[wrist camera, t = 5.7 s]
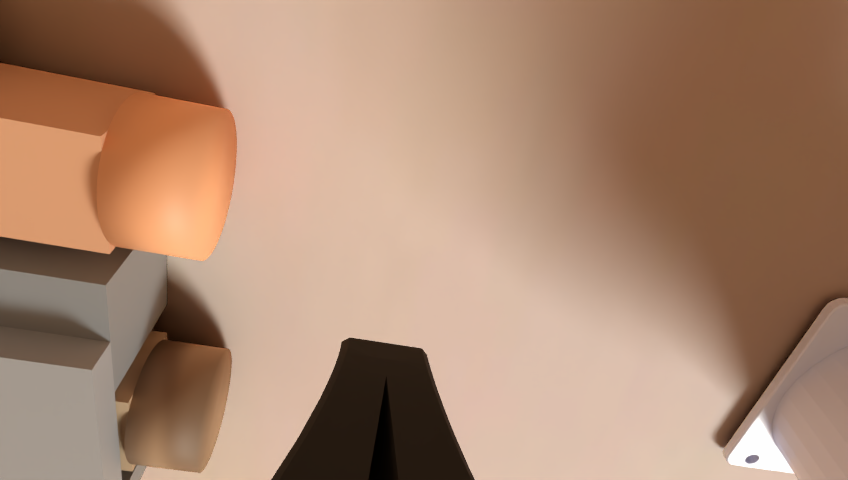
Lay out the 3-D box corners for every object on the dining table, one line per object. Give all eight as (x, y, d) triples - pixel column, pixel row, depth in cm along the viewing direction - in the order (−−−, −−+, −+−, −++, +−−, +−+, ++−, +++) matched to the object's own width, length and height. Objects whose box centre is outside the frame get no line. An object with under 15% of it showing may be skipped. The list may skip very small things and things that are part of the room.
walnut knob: (233, 324, 19) (196, 414, 16) (229, 405, 21) (195, 499, 18) (-130, 269, 18) (-250, 354, 15) (-100, 360, 20) (-200, 452, 17)
